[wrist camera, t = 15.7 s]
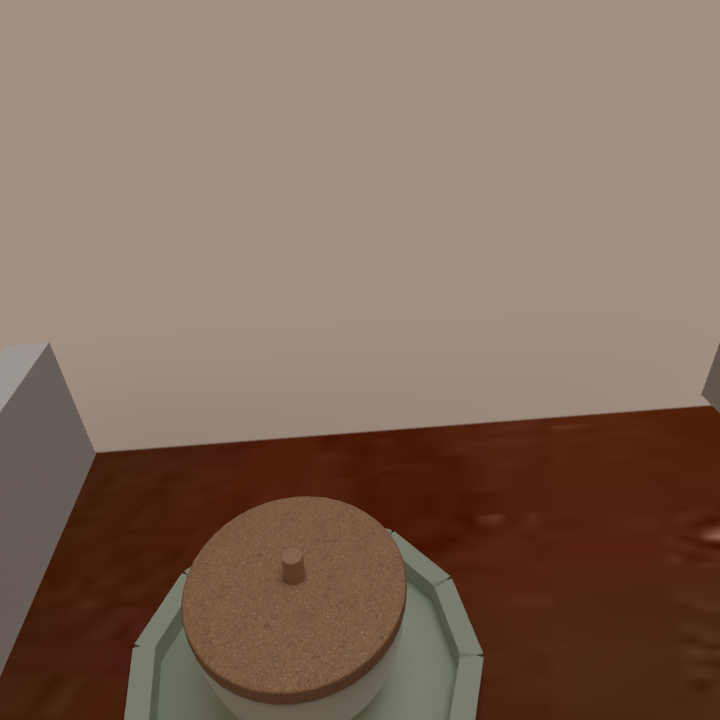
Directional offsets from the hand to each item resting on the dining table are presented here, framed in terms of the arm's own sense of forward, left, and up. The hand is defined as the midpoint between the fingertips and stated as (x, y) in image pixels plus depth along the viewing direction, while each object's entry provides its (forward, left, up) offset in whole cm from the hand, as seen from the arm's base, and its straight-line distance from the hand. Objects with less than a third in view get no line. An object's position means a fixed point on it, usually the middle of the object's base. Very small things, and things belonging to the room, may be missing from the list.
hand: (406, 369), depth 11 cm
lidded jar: (+7, -6, -25) cm, 27 cm away
